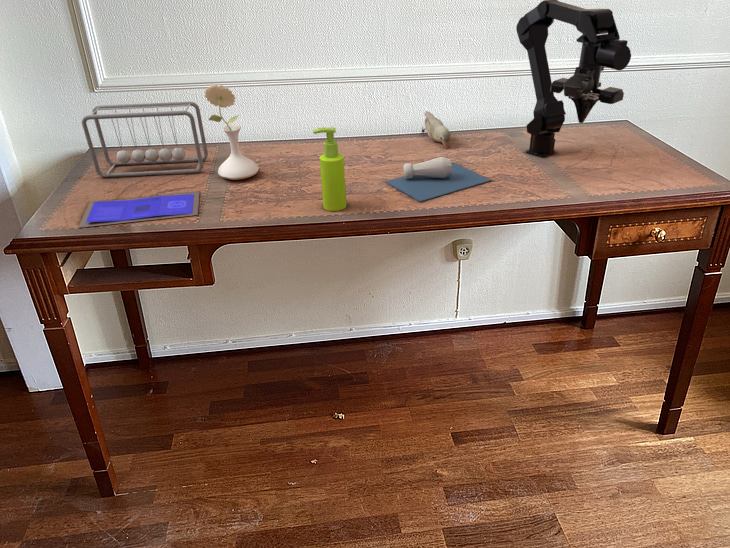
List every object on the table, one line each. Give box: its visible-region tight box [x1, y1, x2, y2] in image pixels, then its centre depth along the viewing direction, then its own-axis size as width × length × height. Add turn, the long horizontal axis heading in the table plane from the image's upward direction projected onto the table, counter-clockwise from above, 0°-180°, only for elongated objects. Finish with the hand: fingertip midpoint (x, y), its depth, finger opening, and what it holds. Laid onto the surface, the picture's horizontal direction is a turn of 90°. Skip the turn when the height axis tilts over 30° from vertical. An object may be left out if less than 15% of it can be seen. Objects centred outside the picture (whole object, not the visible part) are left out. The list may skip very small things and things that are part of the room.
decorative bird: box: [420, 110, 451, 149], centre depth 191 cm, size 5×16×8 cm, turn 21°
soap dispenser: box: [312, 126, 347, 212], centre depth 148 cm, size 6×7×20 cm
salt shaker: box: [402, 156, 452, 179], centre depth 166 cm, size 6×6×13 cm
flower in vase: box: [203, 84, 260, 181], centre depth 165 cm, size 13×11×25 cm
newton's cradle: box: [81, 101, 209, 179], centre depth 172 cm, size 30×10×18 cm, turn 95°
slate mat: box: [385, 162, 492, 203], centre depth 165 cm, size 24×16×1 cm, turn 123°
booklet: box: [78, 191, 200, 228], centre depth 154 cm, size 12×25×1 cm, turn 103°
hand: (581, 122), depth 165 cm, fingers closed
